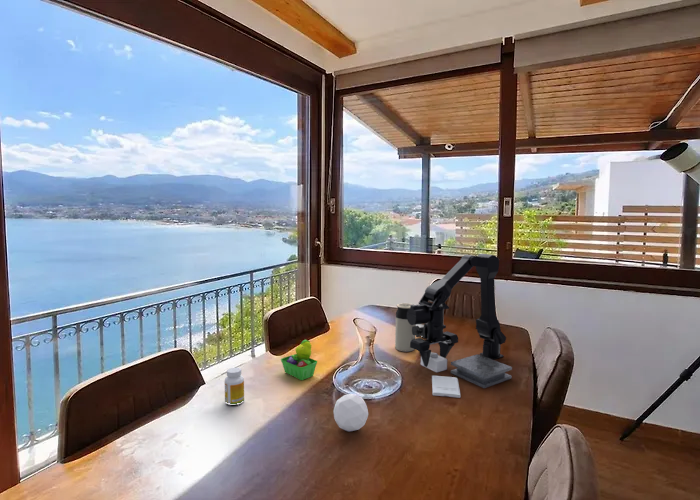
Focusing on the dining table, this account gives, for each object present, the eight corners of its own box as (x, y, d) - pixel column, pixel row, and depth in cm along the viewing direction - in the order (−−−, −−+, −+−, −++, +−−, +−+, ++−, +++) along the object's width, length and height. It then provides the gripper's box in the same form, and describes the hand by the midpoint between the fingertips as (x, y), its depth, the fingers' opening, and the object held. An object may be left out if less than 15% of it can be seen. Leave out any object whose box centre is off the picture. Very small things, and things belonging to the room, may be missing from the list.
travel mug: (392, 350, 160) (393, 306, 158) (398, 344, 167) (399, 302, 165) (412, 353, 157) (413, 308, 155) (416, 346, 164) (418, 303, 163)
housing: (430, 362, 148) (431, 349, 148) (446, 369, 141) (447, 356, 141) (420, 365, 145) (421, 352, 145) (436, 373, 139) (437, 359, 138)
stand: (477, 364, 146) (477, 354, 145) (511, 378, 134) (511, 366, 134) (450, 373, 138) (450, 361, 138) (484, 388, 126) (484, 376, 126)
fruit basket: (279, 373, 137) (279, 341, 136) (299, 366, 143) (299, 335, 142) (301, 383, 129) (301, 349, 128) (321, 375, 136) (321, 342, 135)
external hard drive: (457, 382, 132) (460, 399, 120) (431, 379, 134) (432, 396, 122) (457, 377, 132) (460, 394, 120) (432, 375, 134) (432, 391, 121)
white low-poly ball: (369, 434, 97) (375, 415, 108) (359, 396, 97) (366, 382, 109) (335, 441, 98) (345, 422, 110) (325, 404, 99) (336, 389, 111)
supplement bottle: (248, 399, 118) (247, 367, 117) (237, 408, 113) (236, 374, 112) (232, 396, 119) (231, 365, 118) (221, 405, 114) (220, 372, 113)
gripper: (437, 313, 153) (436, 352, 155) (400, 320, 143) (399, 362, 145) (459, 319, 144) (458, 361, 146) (421, 328, 134) (420, 372, 136)
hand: (433, 364), depth 143 cm, fingers open, 8 cm apart
